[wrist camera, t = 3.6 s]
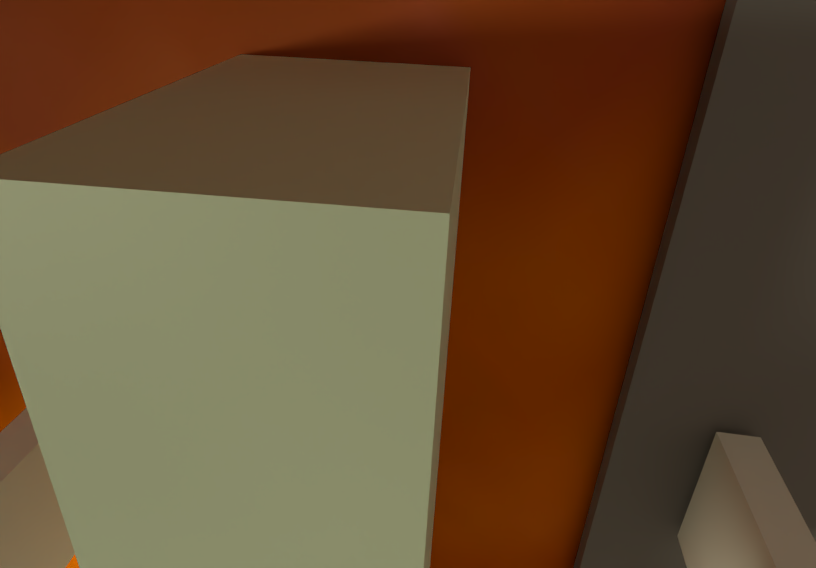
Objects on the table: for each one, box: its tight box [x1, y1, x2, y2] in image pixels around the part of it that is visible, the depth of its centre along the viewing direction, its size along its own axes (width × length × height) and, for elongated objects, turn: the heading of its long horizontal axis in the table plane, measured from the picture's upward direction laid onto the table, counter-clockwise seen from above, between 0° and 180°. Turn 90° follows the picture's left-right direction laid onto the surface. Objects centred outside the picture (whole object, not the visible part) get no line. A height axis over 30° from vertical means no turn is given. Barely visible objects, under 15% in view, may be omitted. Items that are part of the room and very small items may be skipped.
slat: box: [0, 54, 471, 568], centre depth 10 cm, size 4×14×6 cm, turn 178°
